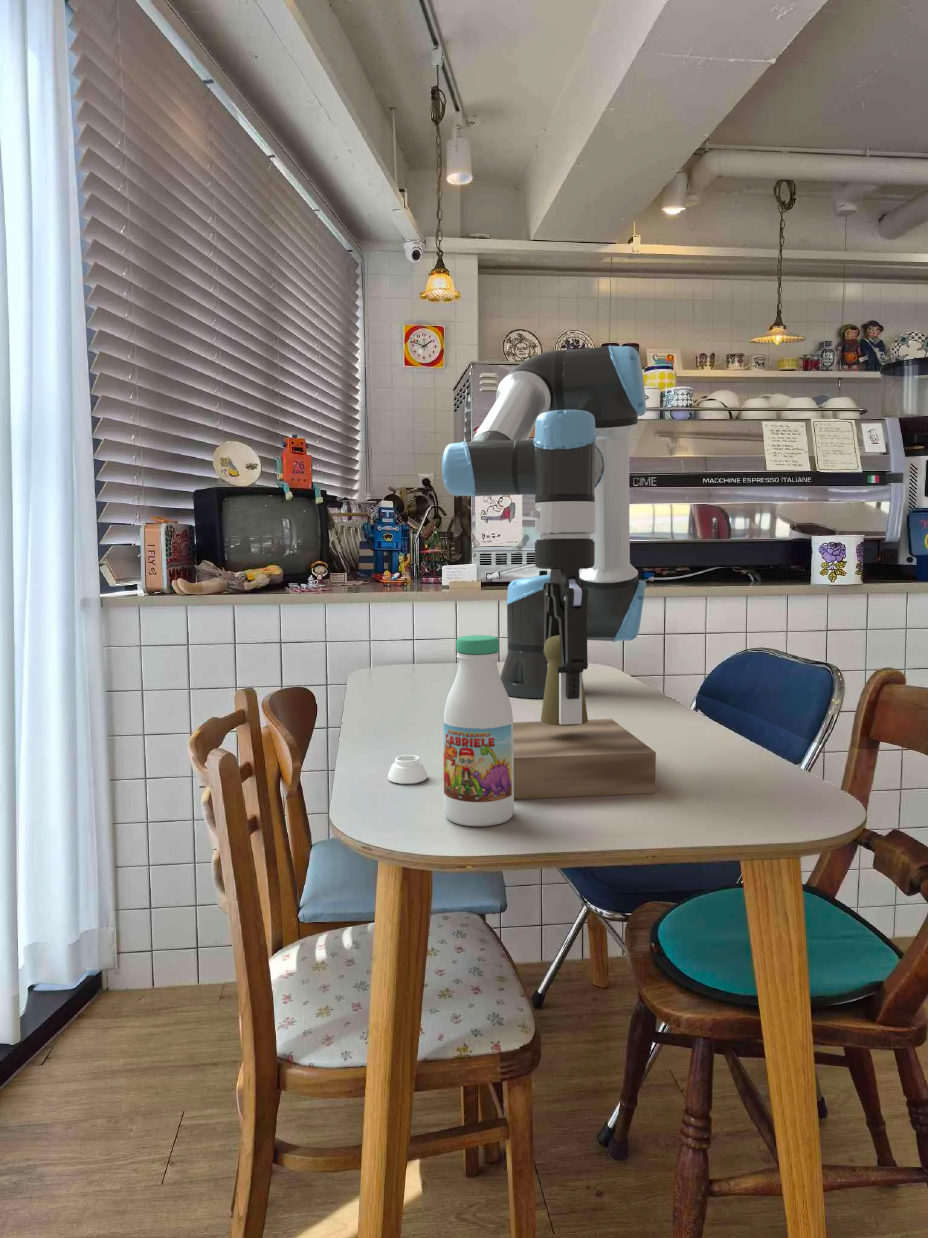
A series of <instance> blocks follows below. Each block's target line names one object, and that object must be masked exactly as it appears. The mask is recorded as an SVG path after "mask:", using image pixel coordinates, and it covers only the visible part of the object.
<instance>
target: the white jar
mask: <svg viewBox="0 0 928 1238" xmlns="http://www.w3.org/2000/svg"><path fill="white" fill-rule="evenodd" d="M394 761H395V762H394V763H392V765H391V767H390V769H389V772H388V773H387V780H389V781H390V782H392V783H394V784H397V783H398V784H397V785H414V784H419V783H421V782H424V781H425V780H427V778H428V772H427V770H426V768H425V766H424V764H423V762H421V761H420V757H419V756H417V755H412V754H403V755H399V756H396V757H395V759H394Z"/></svg>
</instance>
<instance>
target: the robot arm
mask: <svg viewBox="0 0 928 1238" xmlns="http://www.w3.org/2000/svg"><path fill="white" fill-rule="evenodd" d="M496 389H497V390H496V393H495V402H494V404H493V406H492V407H491V409H490V410H489V412H488V414H487V415H486V417H485V418H484V420H483V422H482V423H481V424H480V426H479V428H478V430H477V432H475V434H474V436H473V438H472V439H471V440H470V441H466V440H465V441H463V440H462V441H461V442H454V443H452V442H451V443H449V444H447V445H446V447H445V448H444V451H443V454H442V461H441V471H442V474H441V475H442V479H443V480H442V481H443V484H444V487H445V489H446V491H447V492H448V493H449V494H450V495H452V496H454V497H455V496H456V497H470V498H475V497H490V496H491V497H494V496H518V495H519V496H520V495H523V496H524V495H525V496H527V495H530V496H532V495H533V496H534V495H535V496H534V503H535V507H534V508H535V510H531V512H530V518H532V519H535V523H534V524H535V526H534V527H535V528H534V533H535V534H536V535H539V539H536V541H535V542H534V566H535V567H536V568H537V569H543V570H550V572H549V573H550V574H543V575H535V576H529V577H522V578H518V579H514V580H512V581H510V583H509V584H508V586H507V595H506V596H507V600H506V603H505V604H506V618H507V619H506V623H507V626H506V627H507V630H506V631H507V634H506V636H507V641H506V643H507V650H506V651H507V652H506V657H505V660H504V662H503V666H502V669H501V672H500V678H501V681H502V683H503V685H504V688H505V690H506V692H507V694H508V697H509V696H510V697H514V698H523V699H544V692H545V684H546V676H547V669H548V660H547V658H546V657H545V653H544V645H545V642H546V640H547V639H548V638H550V637H553V636H557V635H560V648H561V662H562V666H561V667H558V668H557V669H556V672H557V673H559V723H560V724H561V725H563V724H582V678H583V672H584V670H587V669H588V667H589V666H588V665H589V662H588V641H600V642H601V641H606V642H613V643H614V642H621V641H622V642H625V641H633V640H635V639H637V637H638V635H639V634H640V633H639V632H640V628H641V627H640V625H641V622H642V621H641V619H642V613H643V612H642V611H643V606H644V598H645V593H646V592H645V591H646V585H647V583H646V581H645V580H642V579H639V571H638V569H636V568H635V567H634V566H633V565H632V563H631V559H630V558H631V557H630V556H631V554H630V553H631V551H630V549H631V548H630V545H631V543H630V541H631V540H630V539H631V538H630V535H631V533H630V434H631V433H632V431H633V430H634V429H635V428H636V427H637V426H638V423H639V421H638V419H639V418H638V417H639V416H642V415H644V414H645V413H646V412H647V403H646V401H647V400H646V390H645V382H644V375H643V368H642V363H641V359H640V354H639V351H638V350H637V349H636V348H634V347H632V346H629V345H626V346H625V345H621V346H620V345H608V346H599V347H598V346H597V347H588V348H587V347H586V348H574V349H573V348H571V349H564V350H563V349H562V350H561V349H557V350H555V349H554V350H549V351H548V350H547V351H545V352H542V353H539V354H536V355H534V356H532V357H529V358H527V359H526V360H524V361H522V362H521V363H519V364H518V365H516V366H515V367H514V368H513V369H511V370H510V371H509V372H508V373H507V374H505V376H504V378H503V379H502V380H501V381H500V383H499V384H498V387H497V388H496ZM638 415H639V416H638ZM533 430H534V438H533V439H530V437H531V434H532V432H533ZM575 659H576V660H575Z"/></svg>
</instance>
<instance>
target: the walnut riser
mask: <svg viewBox="0 0 928 1238" xmlns="http://www.w3.org/2000/svg"><path fill="white" fill-rule="evenodd" d="M513 748H514V801H515V800H533V799H554V798H558V799H559V798H574V797H577V798H578V797H594V796H595V797H596V796H597V797H598V796H615V795H616V796H617V795H618V796H619V795H638V794H656V775H657V774H656V768H657V767H656V765H657V764H656V760H657V752H656V751H655V750H654V749H652V747H650V746H648V745H647V744H646V743H645V742H643V741H642V740H641V739H639V738H638V737H636V736H635V735H634V734H632V732H630V731H628V730H627V729H626V728H624V727H623V726H622V725H620V724H619V723H618V722H617V721H615V720H613V719H612V718H600V719H599V718H596V719H588V722H587V723H585V724H581V725H573V726H559V725H550V724H546V723H543V722H542V721H541V720H540V721H516V722H514V721H513Z"/></svg>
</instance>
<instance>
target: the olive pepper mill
mask: <svg viewBox="0 0 928 1238" xmlns="http://www.w3.org/2000/svg"><path fill="white" fill-rule="evenodd" d="M544 653H545V657H546V658H547V660H548V669H547V676H546V684H545V692H544V698H542V700H543V701H542V707H541V716H540V717H541V718H540V721H542V722H543V723H546V724H550V725H559V726H573V725H581V724H563V725H561V724H560V723H559V673H557V672H556V669H557V668H558V667H561V666H562V662H561V648H560V635H557V636H553V637H550V638H548V639H547V640H546V642H545V645H544ZM575 660H576V659H575ZM586 702H587V701H586V694H585V686H584V679H583V677H582V724H585V723H587V722H588V720H589V718H588V717H589V716H588V712H587V703H586Z"/></svg>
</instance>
